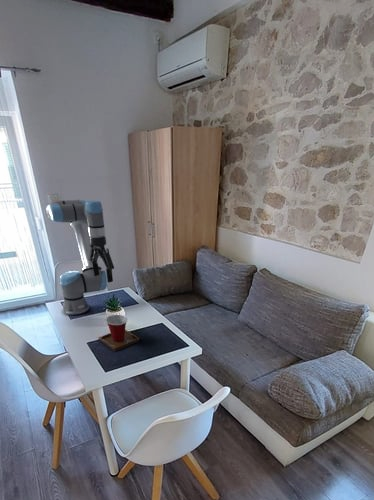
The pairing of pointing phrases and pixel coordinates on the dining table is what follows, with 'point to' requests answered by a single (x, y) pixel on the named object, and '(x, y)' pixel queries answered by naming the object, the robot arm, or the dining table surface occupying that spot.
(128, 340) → the tray
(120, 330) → the plastic cup
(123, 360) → the dining table surface
